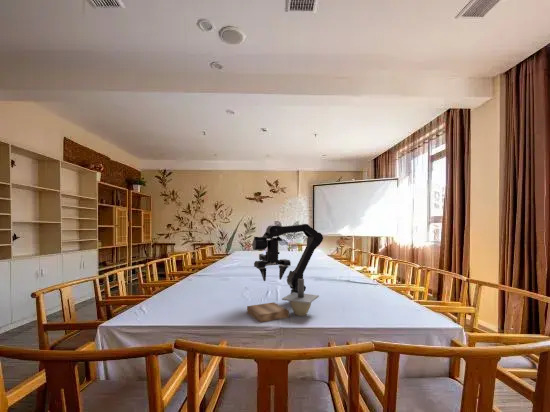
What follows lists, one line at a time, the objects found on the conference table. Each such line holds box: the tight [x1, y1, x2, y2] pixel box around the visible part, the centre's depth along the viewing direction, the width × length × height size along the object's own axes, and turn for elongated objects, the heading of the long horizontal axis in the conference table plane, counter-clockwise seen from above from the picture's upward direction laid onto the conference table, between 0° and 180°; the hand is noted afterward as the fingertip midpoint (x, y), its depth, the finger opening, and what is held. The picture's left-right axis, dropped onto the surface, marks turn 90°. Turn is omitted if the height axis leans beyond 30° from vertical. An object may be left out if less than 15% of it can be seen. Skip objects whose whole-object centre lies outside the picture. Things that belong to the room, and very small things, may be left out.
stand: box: [246, 302, 290, 323], centre depth 130 cm, size 14×14×3 cm
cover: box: [281, 278, 320, 304], centre depth 132 cm, size 13×13×9 cm
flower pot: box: [289, 301, 312, 317], centre depth 132 cm, size 10×10×7 cm
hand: (272, 280), depth 148 cm, fingers open, 9 cm apart
